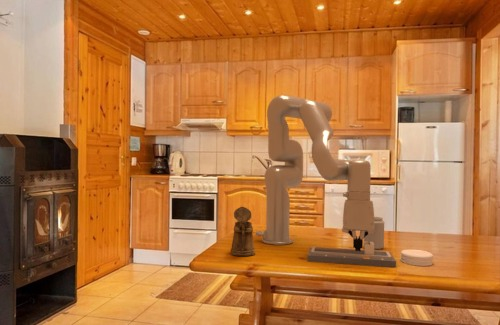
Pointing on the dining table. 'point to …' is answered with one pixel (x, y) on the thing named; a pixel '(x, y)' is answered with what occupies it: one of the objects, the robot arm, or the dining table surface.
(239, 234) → the brown bell figurine
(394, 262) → the dark grey tray
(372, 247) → the cap
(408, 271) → the dining table surface
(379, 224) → the can
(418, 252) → the white cheese wheel
